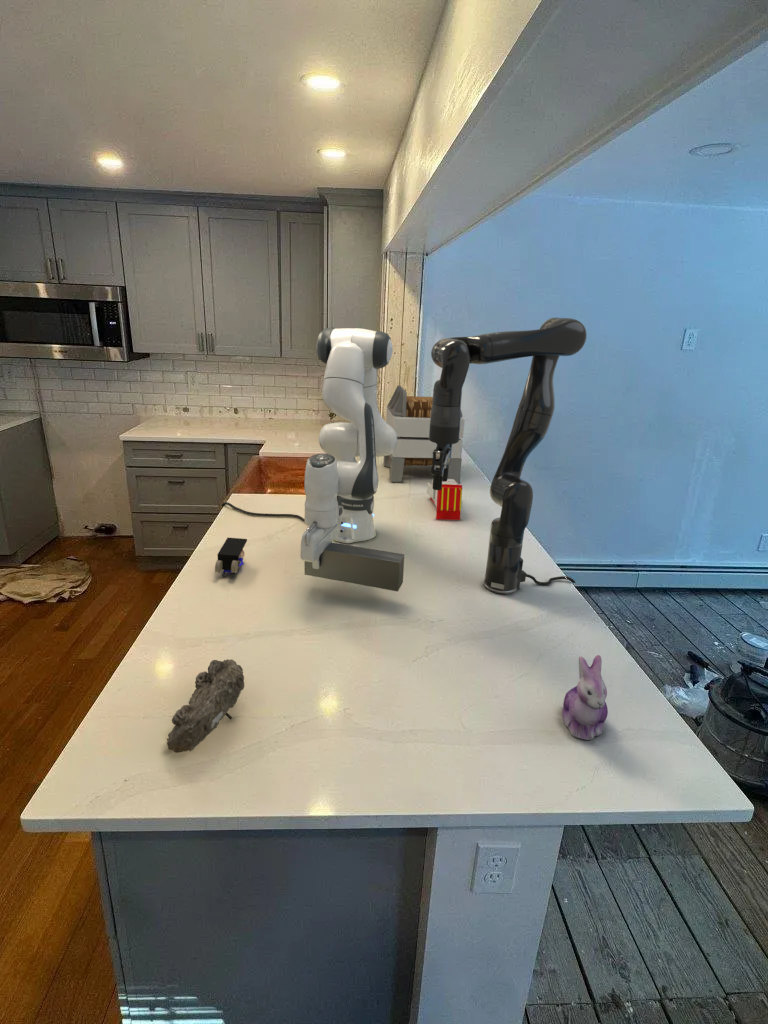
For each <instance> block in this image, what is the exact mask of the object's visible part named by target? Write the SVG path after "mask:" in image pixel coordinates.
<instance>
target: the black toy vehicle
mask: <svg viewBox="0 0 768 1024" xmlns="http://www.w3.org/2000/svg"><path fill="white" fill-rule="evenodd" d="M247 542H248V538H240V537H226V539H225V541H224V543H223V544H222V546H221V547H220V549H219V551H218V552H217V560H216V562H215V564H214V572H215V573H221V577H222V578H224V577H225V576H226V574H227V573H230V574H231V573H232V574H231V578H234V577H235V575H236V573H237V572H239V571H240V567H242V566H243V565H244V564H245V562H244V558H245V551H244V547H245V546H246V544H247Z"/></svg>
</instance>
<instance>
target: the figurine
mask: <svg viewBox="0 0 768 1024" xmlns="http://www.w3.org/2000/svg"><path fill="white" fill-rule="evenodd" d="M602 663H603V660H602V656H601V655H600V654H597V655H595V657H594V658H593V660H592V663H591V664H590V665H589V664H588V662H587V660H586V659H585V658H584V657H583V656H578V674H579V680H578V682H577V685H576V686H574V687H572V688H571V689H569V690H568V691H567V692H566V693H565V696H564V699H563V703H562V704H563V706H562V710H561V714H562V715H561V716H562V721H563V724H564V725H565V727H566V728H567V729H568V730H569V732H570V734H571V735H572V736H573V737H574V738H577V739H581V740H584V741H585V740H587V741H589V740H590V741H591V740H593V739H594V737H599V736H600V735H601V734H602V732H603V729H604V726H605V725H604V724H605V722H606V721H607V718H608V714H609V711H608V710H609V709H608V705H607V701H606V700H607V696H608V690H607V686H606V683H605V680H604V679H603V677H602Z"/></svg>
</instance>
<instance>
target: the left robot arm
mask: <svg viewBox="0 0 768 1024" xmlns="http://www.w3.org/2000/svg"><path fill="white" fill-rule="evenodd" d="M393 349H394V348H393V343H392V339H391V336H390V335H389V334H388V333H387V332H384V331H382V330H372V329H366V328H359V327H355V328H352V327H349V328H348V327H347V328H346V327H343V328H341V327H340V328H339V327H338V328H335V327H327V328H324V329H322V330H321V331H320V332H319V334H318V337H317V340H316V353H317V357H318V359H319V360H320V361H321V362H322V364H325V369H324V375H323V380H322V381H323V382H322V383H323V384H322V392H321V393H322V395H321V396H322V401H323V403H324V405H325V406H326V409H328V410H329V411H330V412H331V413H333V414H334V415H336V416H338V417H340V418H342V419H343V420H346V422H343V421H337V422H331V423H325V424H324V425H323V426H322V427H321V429H320V431H319V433H318V444H319V446H320V448H321V450H322V451H323V453H315V454H312V455H311V456H308V458H307V460H306V463H305V470H304V482H303V483H304V485H303V487H304V488H303V490H304V493H305V500H304V517H302V516H301V515H299V514H294V513H293V514H292V513H263V512H261V513H260V512H251V511H247V510H244V509H242V508H239V507H238V506H237V507H236V506H235V505H233V504H232V503H230V502H228V501H225V502H223V503H222V504H221V507H225V506H229V507H230V508H232V509H233V510H235V511H238V512H240V513H242V514H245V515H249V516H255V517H273V518H274V517H275V518H276V517H279V518H281V517H282V518H283V517H284V518H286V517H288V518H297V519H299V520H300V521H301V522H304V524H305V525H307V528H306V529H305V530H304V531H303V533H302V535H301V540H300V555H299V557H300V559H301V561H303V562H304V561H307V562H312V565H313V568H314V569H319V567H320V566H321V561H319V557H320V555H321V554H322V553H323V551H324V549H325V548H326V547H327V546H328V545H329V544H330V543H331V542H332V543H334V541H336V542H338V543H342V544H352V543H357V542H365V541H368V540H372V539H373V538H375V537H376V535H377V532H376V528H375V523H374V517H375V513H373V512H374V509H375V496H374V495H376V493H377V491H378V487H379V474H378V467H377V458H381V457H384V456H387V455H391V454H392V453H393V452H394V450H395V448H396V446H397V435H396V432H395V431H394V429H393V428H392V427H391V426H390V425H388V424H387V423H386V420H385V419H384V418H383V417H382V415H381V413H380V410H379V406H378V398H377V397H378V370H380V369H383V368H385V367H386V366H388V365H389V363H390V360H391V358H392V356H393ZM347 421H348V422H347ZM357 457H359V460H358V461H357Z"/></svg>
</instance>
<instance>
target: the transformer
mask: <svg viewBox="0 0 768 1024" xmlns="http://www.w3.org/2000/svg"><path fill="white" fill-rule="evenodd" d="M407 394H408V393H407V390H406V389H404V388H403V387H402V385H399V384H398V385H397V386H396V388H395V390H394V392H393V394H392V395H391V398H390V400H389V402H388V404H387V405H386V413H385V414H386V415H385V422H386V423H387V424H388V425H390V426H391V427H392V428H393V429H394V431H395V432H396V435H397V446H396V448H395V450H394V452H393V453H392V454H391V455H387V456H383V466H384V467H388V468H389V475H388V476H389V477H388V478H389V480H390V482H391V483H402V482H403V475H404V469H405V466H406V467H407V466H411V467H412V466H413V467H415V466H416V467H417V466H418V467H431V466H432V461H433V451H434V449H436V447H437V444H436V443H433V442H431V441H430V440H429V430H430V415H431V409H432V404H433V403H432V401H433V396H415V395H414V396H413V395H412V396H411V395H407ZM464 429H465V419H464V418H463V411H461V422H460V433H459V441H458V443H456V444H452V454H451V463H450V466H449V467H448V479H454V480H455V481H456V482H457V483H458V484H459V483H461V472H462V461H463V460H462V453H463V442H464V441H463V440H462V439H463V438H464V431H465V430H464ZM436 469H437V470H440V468H438V467H437V468H436Z"/></svg>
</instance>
